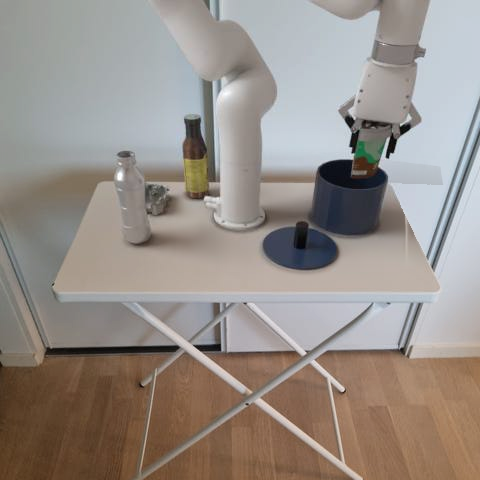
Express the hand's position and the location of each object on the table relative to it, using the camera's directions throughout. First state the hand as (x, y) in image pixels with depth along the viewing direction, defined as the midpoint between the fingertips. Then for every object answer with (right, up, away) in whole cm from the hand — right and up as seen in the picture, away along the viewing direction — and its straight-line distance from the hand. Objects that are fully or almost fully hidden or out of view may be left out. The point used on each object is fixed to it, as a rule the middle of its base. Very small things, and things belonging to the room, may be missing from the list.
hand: (370, 152), depth 93 cm
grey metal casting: (-49, -4, +26) cm, 55 cm away
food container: (0, -3, +3) cm, 4 cm away
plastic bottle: (-50, -15, +13) cm, 54 cm away
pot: (-1, -9, +22) cm, 24 cm away
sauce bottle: (-38, 0, +30) cm, 49 cm away
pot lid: (-13, -17, +11) cm, 24 cm away
